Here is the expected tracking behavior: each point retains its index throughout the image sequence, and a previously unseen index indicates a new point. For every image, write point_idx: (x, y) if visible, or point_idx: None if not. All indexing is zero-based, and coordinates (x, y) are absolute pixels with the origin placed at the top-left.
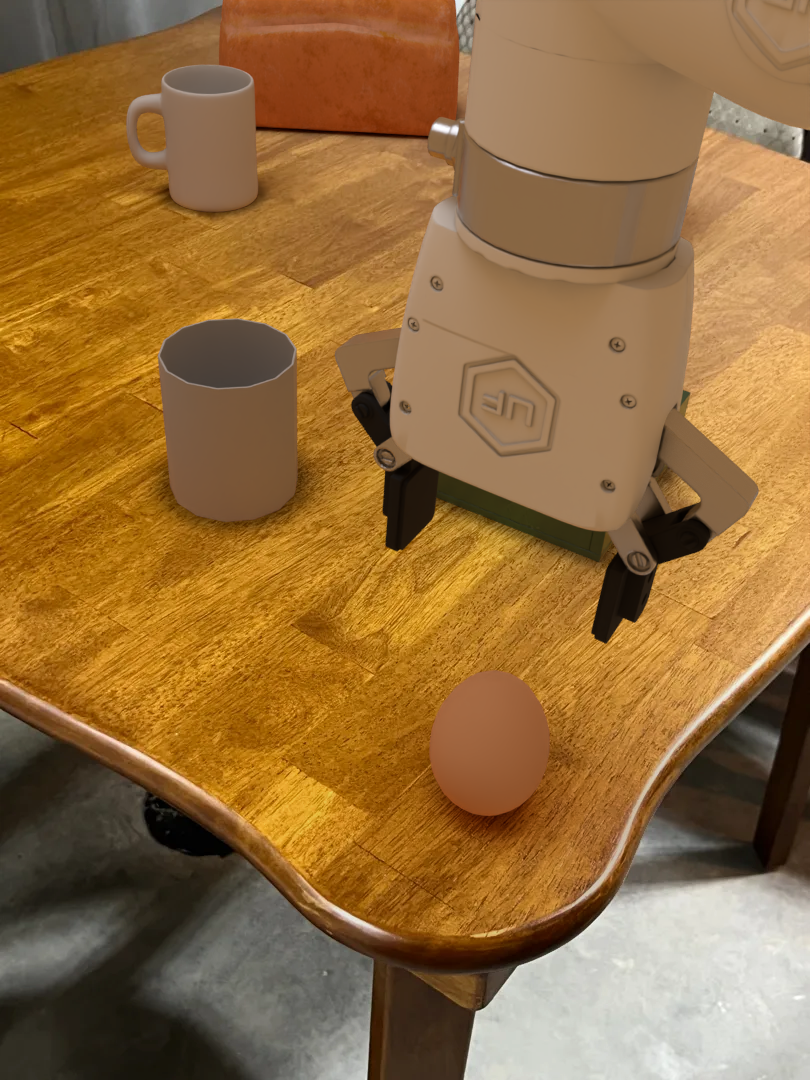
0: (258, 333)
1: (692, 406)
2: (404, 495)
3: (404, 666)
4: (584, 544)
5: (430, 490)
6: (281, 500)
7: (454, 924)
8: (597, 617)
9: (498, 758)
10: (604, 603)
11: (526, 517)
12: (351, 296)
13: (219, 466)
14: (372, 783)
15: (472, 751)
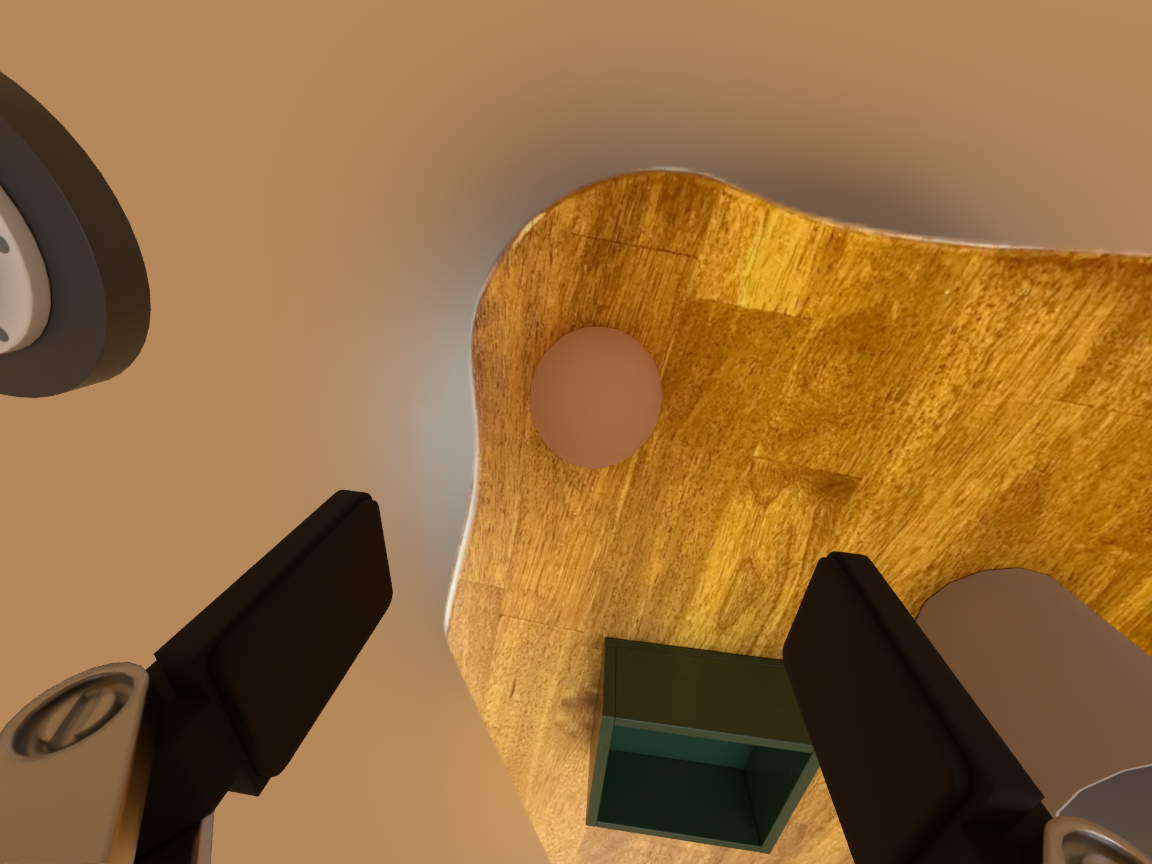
0: None
1: None
2: (928, 720)
3: (727, 476)
4: (621, 651)
5: (826, 729)
6: (929, 613)
7: (564, 216)
8: (338, 528)
9: (563, 359)
10: (288, 558)
11: (679, 663)
12: None
13: (1053, 633)
14: (705, 334)
15: (594, 353)
